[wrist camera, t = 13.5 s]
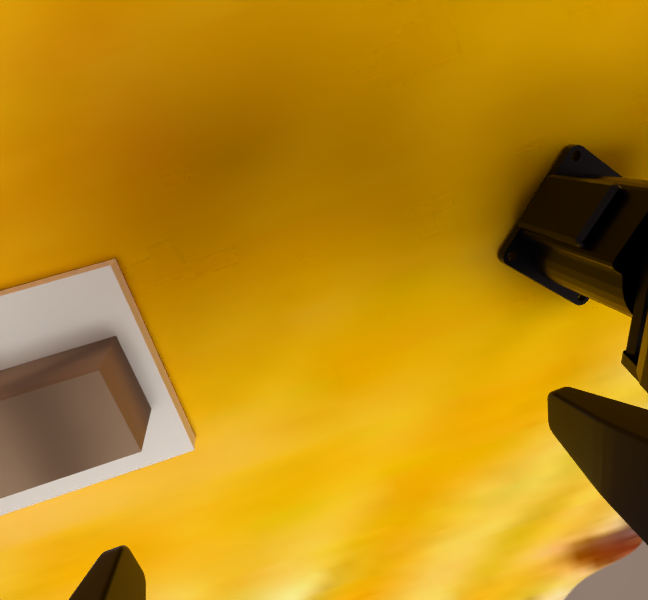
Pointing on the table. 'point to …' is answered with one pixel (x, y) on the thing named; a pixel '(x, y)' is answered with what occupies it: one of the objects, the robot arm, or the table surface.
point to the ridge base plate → (81, 329)
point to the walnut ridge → (68, 415)
